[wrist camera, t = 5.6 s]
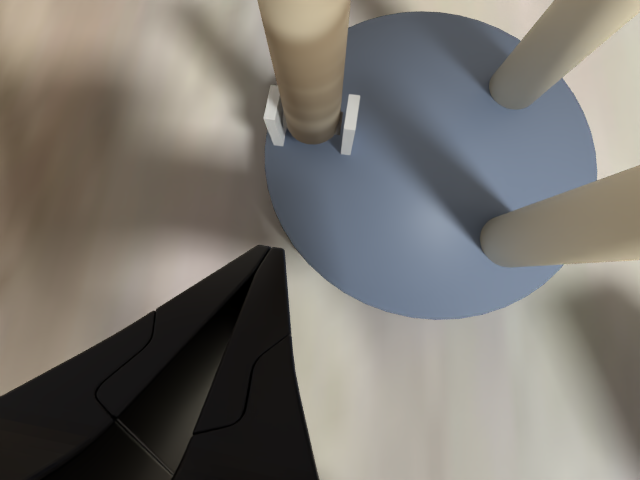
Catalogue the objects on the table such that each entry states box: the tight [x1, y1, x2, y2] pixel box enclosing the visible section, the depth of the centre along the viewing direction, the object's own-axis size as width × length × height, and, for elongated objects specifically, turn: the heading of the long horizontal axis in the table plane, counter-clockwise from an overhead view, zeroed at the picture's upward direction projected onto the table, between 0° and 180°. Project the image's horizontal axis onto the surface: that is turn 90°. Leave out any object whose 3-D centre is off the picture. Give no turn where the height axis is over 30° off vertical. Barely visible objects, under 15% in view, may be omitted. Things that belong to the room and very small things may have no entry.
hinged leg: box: [258, 0, 351, 145], centre depth 8 cm, size 3×3×13 cm
